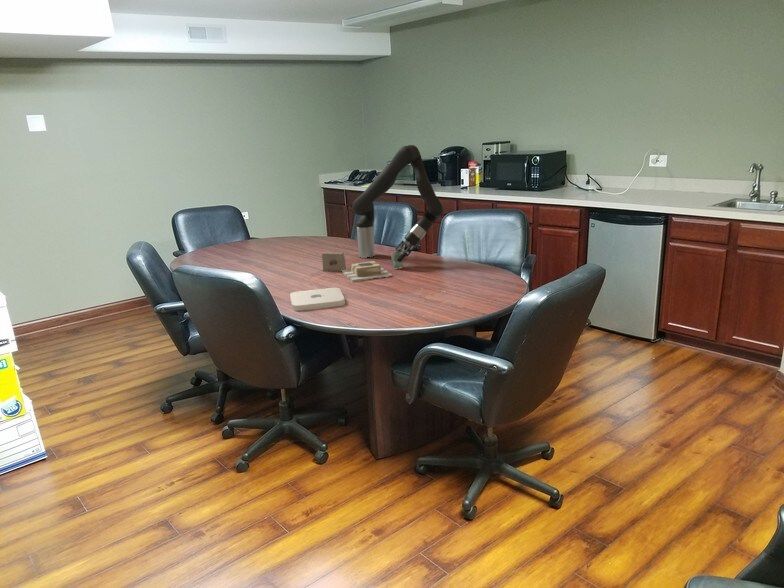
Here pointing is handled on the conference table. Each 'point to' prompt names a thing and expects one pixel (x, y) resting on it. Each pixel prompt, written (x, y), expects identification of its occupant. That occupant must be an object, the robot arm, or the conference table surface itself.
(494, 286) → the conference table surface
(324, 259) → the fossil
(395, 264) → the post
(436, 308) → the conference table surface
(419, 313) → the conference table surface
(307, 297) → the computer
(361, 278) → the stand
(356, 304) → the conference table surface
